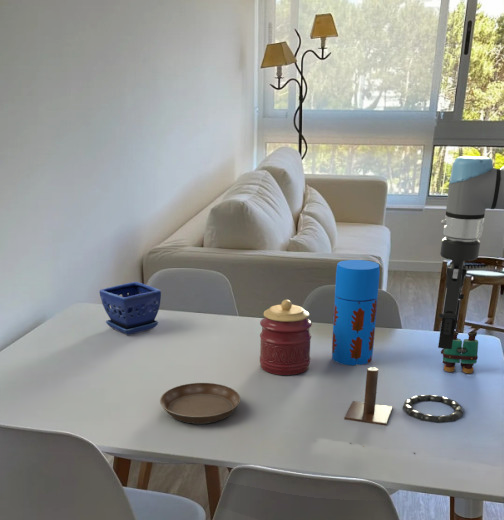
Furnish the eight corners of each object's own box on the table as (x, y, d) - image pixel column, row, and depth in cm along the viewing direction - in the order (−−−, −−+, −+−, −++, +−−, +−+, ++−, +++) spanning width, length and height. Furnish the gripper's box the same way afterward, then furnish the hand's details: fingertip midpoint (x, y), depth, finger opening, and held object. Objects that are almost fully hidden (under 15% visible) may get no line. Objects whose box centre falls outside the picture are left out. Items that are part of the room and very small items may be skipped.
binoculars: (478, 325, 182) (483, 334, 173) (472, 364, 186) (477, 375, 177) (442, 323, 184) (445, 331, 174) (438, 362, 187) (440, 372, 178)
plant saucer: (213, 435, 146) (213, 422, 145) (144, 416, 154) (143, 404, 153) (254, 404, 160) (254, 392, 159) (189, 389, 168) (189, 377, 167)
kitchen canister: (288, 354, 190) (290, 290, 182) (320, 368, 180) (323, 301, 173) (249, 364, 183) (249, 298, 175) (280, 380, 173) (282, 310, 166)
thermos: (378, 356, 189) (387, 263, 178) (361, 368, 181) (369, 271, 170) (342, 348, 194) (348, 257, 183) (324, 360, 186) (329, 265, 175)
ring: (464, 406, 160) (465, 398, 159) (460, 430, 149) (461, 421, 148) (406, 398, 164) (407, 390, 163) (398, 421, 153) (399, 413, 152)
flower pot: (126, 339, 200) (123, 298, 195) (101, 327, 209) (97, 288, 204) (164, 329, 208) (162, 289, 203) (138, 318, 217) (136, 280, 212)
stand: (392, 412, 157) (397, 364, 152) (385, 429, 149) (390, 379, 144) (352, 406, 160) (356, 359, 155) (343, 423, 152) (347, 373, 147)
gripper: (447, 225, 154) (435, 319, 164) (437, 249, 133) (423, 354, 142) (482, 228, 152) (468, 322, 161) (478, 252, 131) (461, 359, 140)
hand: (447, 338), depth 152 cm, fingers open, 13 cm apart
